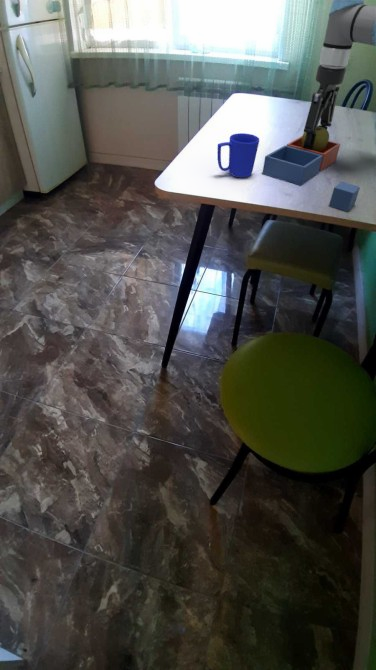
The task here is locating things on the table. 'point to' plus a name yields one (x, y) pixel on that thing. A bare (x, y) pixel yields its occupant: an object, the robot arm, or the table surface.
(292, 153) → the blue bin
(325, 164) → the red bin
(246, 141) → the mug
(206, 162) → the table surface
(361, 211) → the table surface
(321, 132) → the apple
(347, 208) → the block
